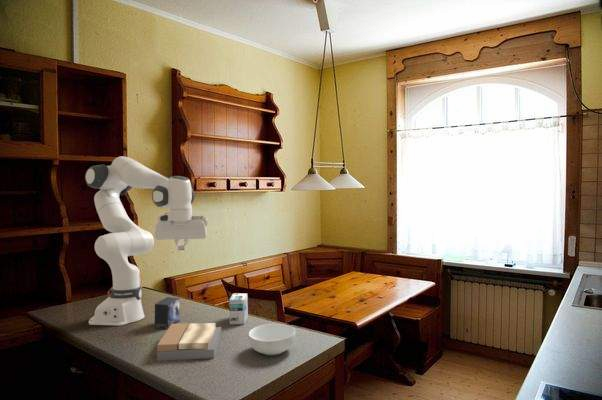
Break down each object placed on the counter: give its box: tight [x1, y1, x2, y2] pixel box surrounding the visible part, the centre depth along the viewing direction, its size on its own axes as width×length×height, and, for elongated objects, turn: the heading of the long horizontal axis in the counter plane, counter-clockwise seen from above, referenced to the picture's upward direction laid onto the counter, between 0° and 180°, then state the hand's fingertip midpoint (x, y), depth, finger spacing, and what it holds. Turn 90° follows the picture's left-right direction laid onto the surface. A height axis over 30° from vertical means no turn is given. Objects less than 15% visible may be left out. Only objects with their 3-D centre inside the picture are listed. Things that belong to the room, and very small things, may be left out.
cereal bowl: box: [248, 323, 297, 356], centre depth 143 cm, size 17×17×7 cm
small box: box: [154, 296, 181, 330], centre depth 171 cm, size 11×6×10 cm, turn 168°
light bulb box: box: [228, 292, 249, 325], centre depth 175 cm, size 11×7×11 cm, turn 0°
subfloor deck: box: [156, 322, 222, 362], centre depth 147 cm, size 19×22×5 cm
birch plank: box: [179, 322, 217, 349], centre depth 147 cm, size 10×20×2 cm, turn 5°
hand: (181, 250), depth 162 cm, fingers closed
